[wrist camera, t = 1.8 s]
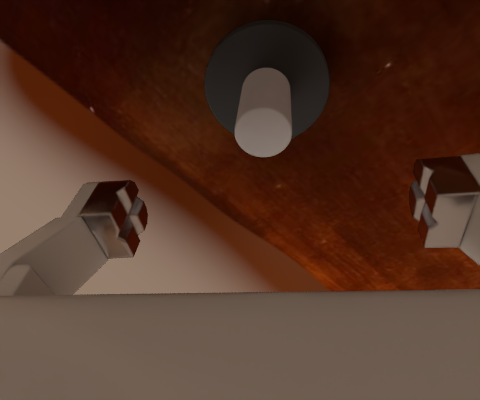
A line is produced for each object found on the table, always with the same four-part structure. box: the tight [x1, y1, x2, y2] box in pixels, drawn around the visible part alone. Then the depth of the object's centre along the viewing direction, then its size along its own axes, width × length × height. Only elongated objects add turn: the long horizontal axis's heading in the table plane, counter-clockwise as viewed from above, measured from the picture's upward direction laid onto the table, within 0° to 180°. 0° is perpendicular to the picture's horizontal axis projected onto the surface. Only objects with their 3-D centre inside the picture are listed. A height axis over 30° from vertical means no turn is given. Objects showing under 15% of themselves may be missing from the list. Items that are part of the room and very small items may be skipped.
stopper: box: [204, 20, 330, 157], centre depth 15 cm, size 5×5×6 cm
